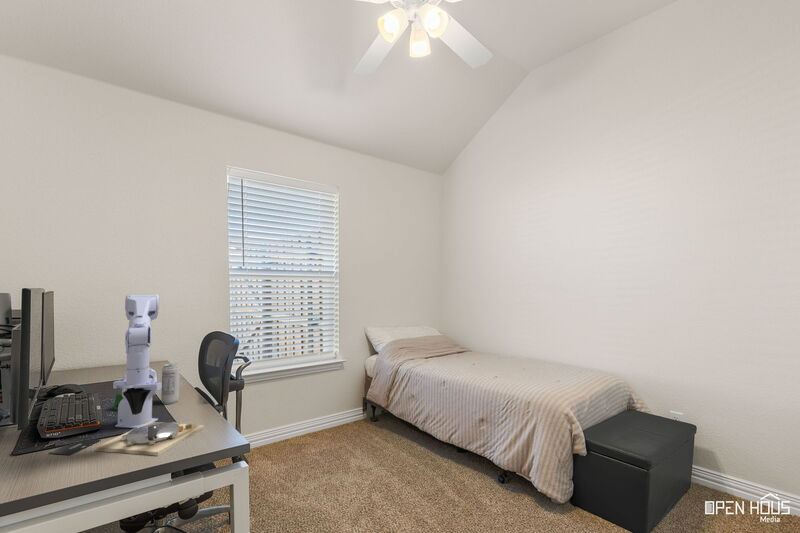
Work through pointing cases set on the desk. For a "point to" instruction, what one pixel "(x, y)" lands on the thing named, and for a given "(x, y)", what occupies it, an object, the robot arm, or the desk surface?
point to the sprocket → (152, 433)
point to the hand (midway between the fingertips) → (136, 413)
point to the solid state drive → (74, 447)
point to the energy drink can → (170, 383)
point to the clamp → (117, 401)
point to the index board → (147, 449)
